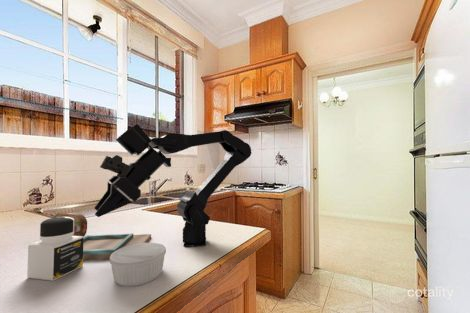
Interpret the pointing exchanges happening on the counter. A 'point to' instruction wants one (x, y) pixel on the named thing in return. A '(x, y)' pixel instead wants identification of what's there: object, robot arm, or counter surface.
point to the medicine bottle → (55, 250)
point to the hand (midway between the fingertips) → (96, 212)
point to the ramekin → (137, 263)
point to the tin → (76, 223)
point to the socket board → (109, 244)
